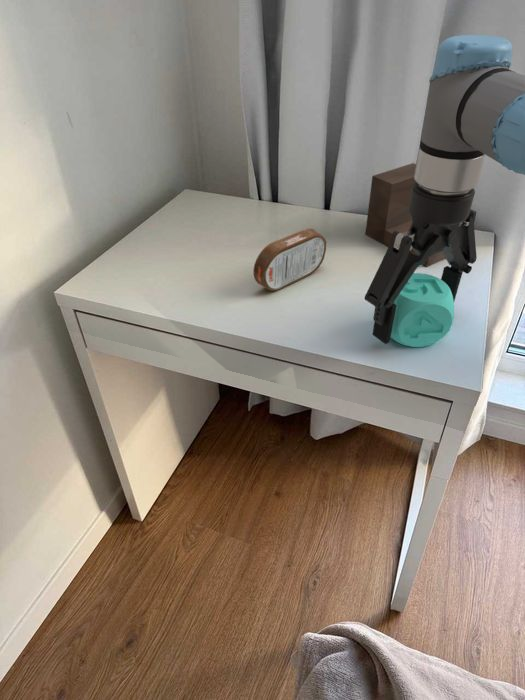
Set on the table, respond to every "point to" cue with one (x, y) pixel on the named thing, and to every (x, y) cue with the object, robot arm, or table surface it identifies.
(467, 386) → the table surface
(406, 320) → the decorative dice
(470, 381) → the table surface
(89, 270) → the table surface
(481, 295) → the table surface
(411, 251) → the shelf stand
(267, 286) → the tin
